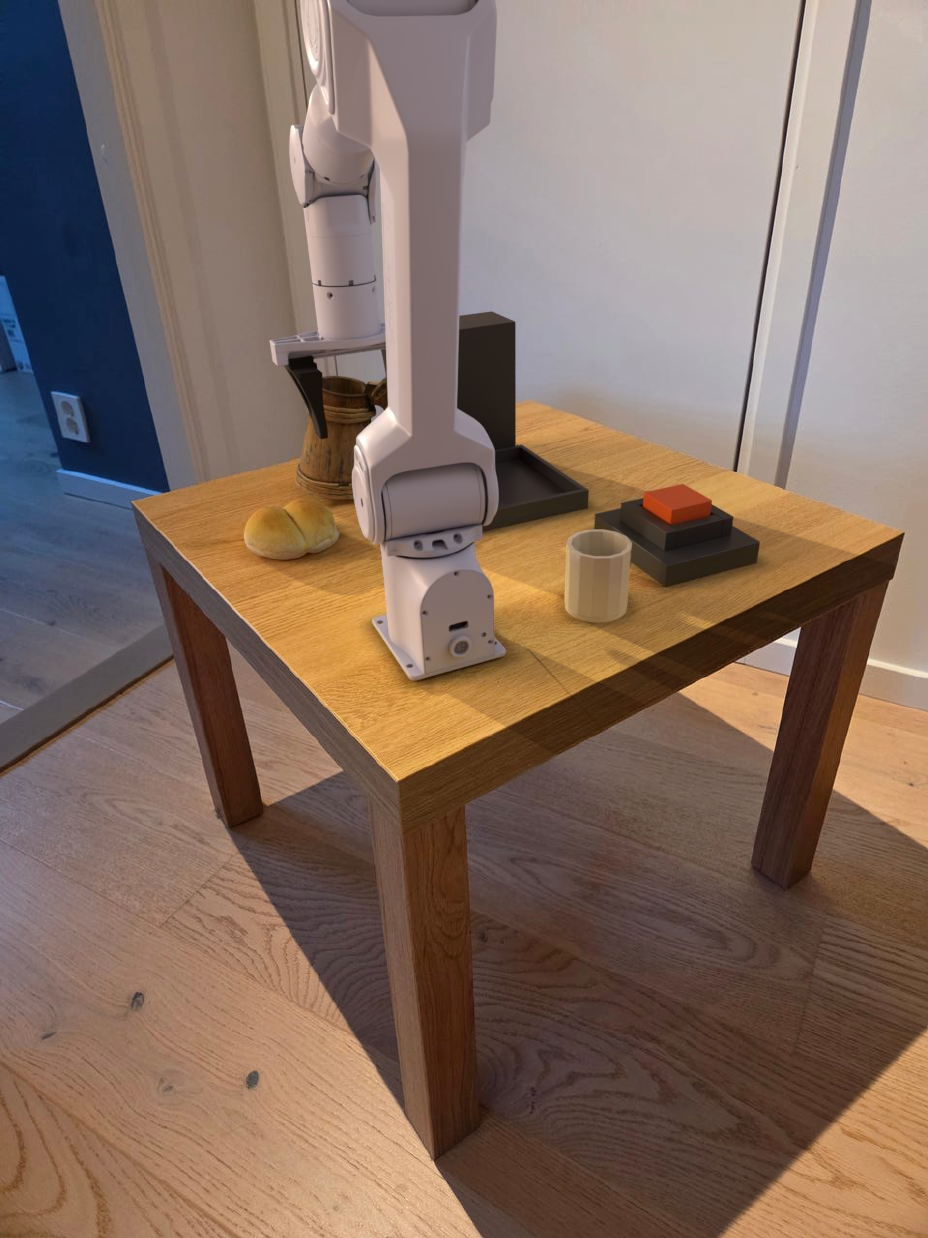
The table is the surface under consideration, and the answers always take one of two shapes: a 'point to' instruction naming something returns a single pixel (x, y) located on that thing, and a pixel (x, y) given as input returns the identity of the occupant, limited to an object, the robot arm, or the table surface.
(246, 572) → the table surface
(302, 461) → the wooden mug
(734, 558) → the control block
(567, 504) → the tray
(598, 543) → the cream cup
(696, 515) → the button
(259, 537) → the bread roll
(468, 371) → the block
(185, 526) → the table surface
